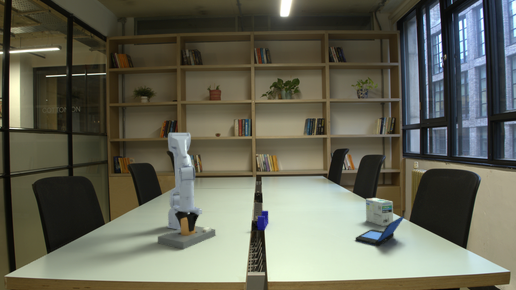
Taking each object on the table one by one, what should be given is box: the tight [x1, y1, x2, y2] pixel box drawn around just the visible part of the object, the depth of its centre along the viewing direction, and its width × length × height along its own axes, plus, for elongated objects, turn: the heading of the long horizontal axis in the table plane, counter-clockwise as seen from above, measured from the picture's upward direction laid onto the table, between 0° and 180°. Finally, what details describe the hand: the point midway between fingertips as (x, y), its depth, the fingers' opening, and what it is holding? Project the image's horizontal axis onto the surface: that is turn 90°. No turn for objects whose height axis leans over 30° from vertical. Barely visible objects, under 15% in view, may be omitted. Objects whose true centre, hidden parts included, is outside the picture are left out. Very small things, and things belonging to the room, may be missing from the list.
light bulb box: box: [365, 197, 394, 227], centre depth 137 cm, size 11×7×11 cm, turn 22°
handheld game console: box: [355, 215, 404, 247], centre depth 113 cm, size 16×13×9 cm
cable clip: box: [256, 210, 269, 231], centre depth 135 cm, size 12×4×6 cm, turn 170°
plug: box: [181, 217, 195, 236], centre depth 118 cm, size 4×4×7 cm
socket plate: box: [157, 225, 216, 250], centre depth 118 cm, size 14×18×4 cm
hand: (187, 230), depth 118 cm, fingers closed on plug, 4 cm apart
